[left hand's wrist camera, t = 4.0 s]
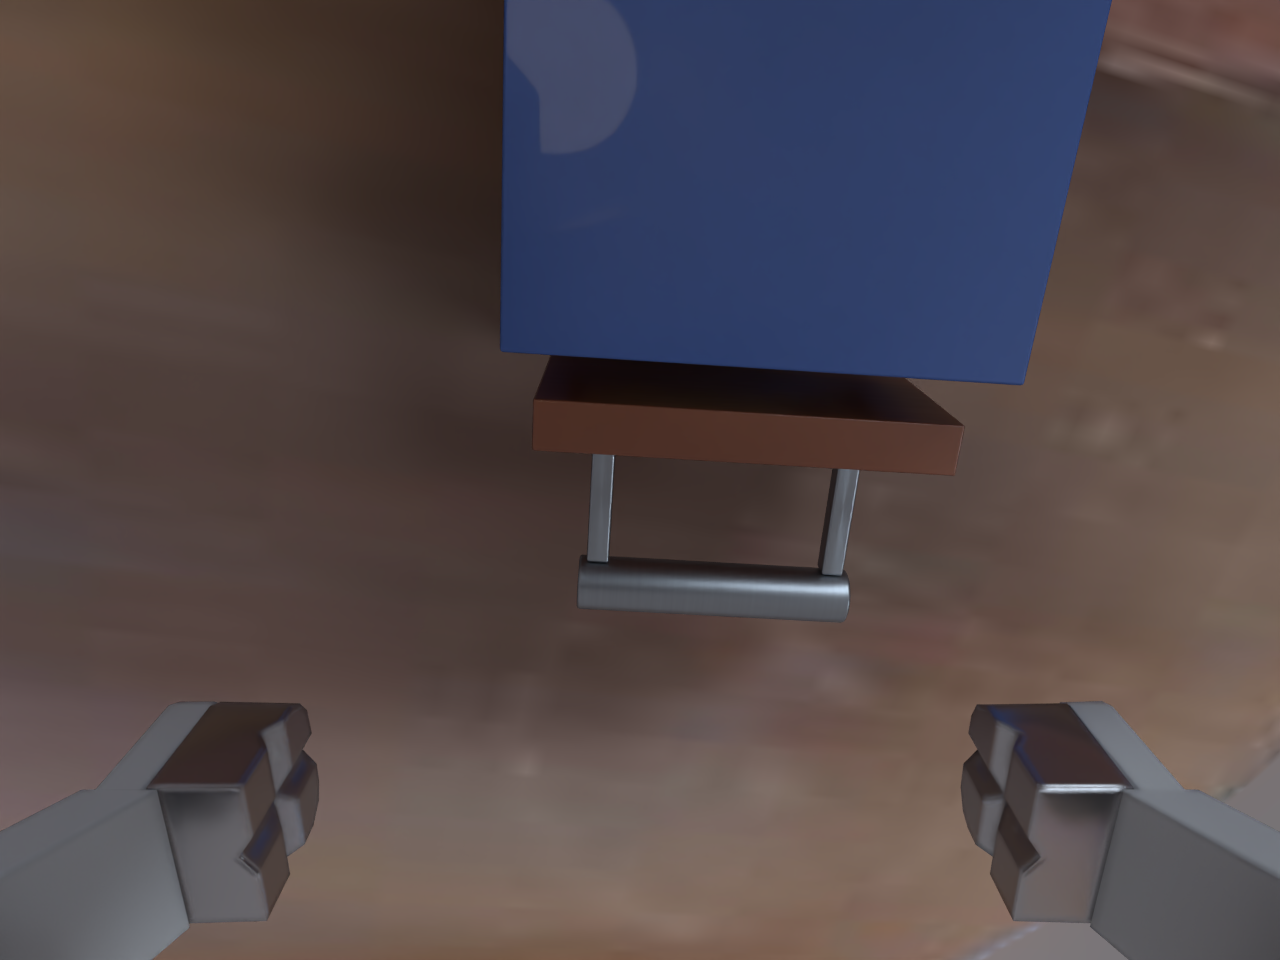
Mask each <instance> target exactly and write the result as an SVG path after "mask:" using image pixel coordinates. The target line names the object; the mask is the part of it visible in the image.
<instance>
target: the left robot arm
mask: <svg viewBox="0 0 1280 960" xmlns="http://www.w3.org/2000/svg"><path fill="white" fill-rule="evenodd" d="M310 735H311V728H310V723H309V718H308V713H307V710H306V709H305V708H304V707H303V706H302V705H301V704H300V703H254V702H219V703H217V702H177V703H174V704H171V705H169V706H168V707H167V708H166V709H165V710H164V711H163V712H162V713H161V715H160V716H159V717H158V718H157V719H156V720H155V722H154V723H153V724H152V725H151V726H150V727H149V728H148V730H147V731H146V732H145V733H144V734H143V735H142V737H141V738H140V739H139V740H138V741H137V742H136V743H135V745H134V746H133V747H132V748H131V749H130V750H129V751H128V753H127V754H126V755H125V756H124V757H123V758H122V760H121V761H120V762H119V763H118V764H117V765H116V766H115V768H114V769H113V770H112V771H111V772H110V773H109V774H108V776H107V777H106V778H105V779H104V780H103V781H102V783H101V784H100V785H99V786H98V787H97V788H96V789H95V790H80V791H78V792H76V793H75V794H73V795H71V796H69V797H67V798H65V799H63V800H61V801H59V802H57V803H55V804H53V805H51V806H49V807H47V808H45V809H43V810H41V811H39V812H37V813H35V814H33V815H32V816H30V817H28V818H26V819H24V820H22V821H20V822H18V823H16V824H14V825H12V826H10V827H8V828H6V829H4V830H2V831H0V960H152V959H153V958H154V957H155V956H157V955H158V954H159V953H160V952H161V951H162V950H164V949H165V948H166V947H167V946H168V945H170V944H171V943H172V942H173V941H174V940H175V939H177V938H178V937H179V936H180V935H181V934H182V933H184V932H185V931H186V930H187V929H188V928H189V927H190V925H189V923H211V922H245V921H267V919H268V917H269V915H270V913H271V911H272V909H273V907H274V905H275V903H276V901H277V899H278V897H279V895H280V893H281V891H282V889H283V887H284V885H285V883H286V881H287V879H288V877H289V875H290V871H289V865H288V859H287V856H289V855H290V854H292V853H293V852H294V851H296V850H297V849H299V848H300V847H301V846H303V845H304V844H305V842H306V840H307V838H308V836H309V833H310V831H311V829H312V827H313V824H314V820H315V815H316V811H317V806H318V801H319V778H318V771H317V764H316V763H315V762H314V761H313V760H312V759H311V758H310V757H309V756H308V755H307V754H306V753H305V752H304V751H303V750H302V749H303V748H304V746H305V744H306V742H307V740H308V739H309V737H310ZM969 735H970V737H971V739H972V740H973V742H974V744H975V746H976V748H977V749H978V750H977V751H976V752H975V753H974V754H973V755H972V756H971V757H970V758H969V759H968V760H967V761H966V762H965V763H964V764H963V772H962V780H961V796H962V807H963V813H964V816H965V820H966V823H967V827H968V829H969V831H970V834H971V836H972V838H973V840H974V842H975V844H976V845H977V846H979V847H980V848H981V849H983V850H984V851H986V852H987V853H988V854H990V855H991V856H993V859H992V865H991V871H990V875H991V877H992V879H993V881H994V883H995V885H996V887H997V889H998V891H999V893H1000V895H1001V897H1002V899H1003V901H1004V903H1005V905H1006V907H1007V909H1008V911H1009V913H1010V915H1011V917H1012V919H1013V921H1033V922H1068V923H1091V925H1090V927H1091V928H1092V929H1093V930H1094V931H1096V932H1097V933H1098V934H1099V935H1100V936H1102V937H1103V938H1104V939H1105V940H1106V941H1107V942H1109V943H1110V944H1111V945H1112V946H1113V947H1114V948H1116V949H1117V950H1118V951H1119V952H1120V953H1121V954H1123V955H1124V956H1125V957H1126V958H1127V959H1128V960H1280V832H1279V831H1278V830H1276V829H1274V828H1272V827H1270V826H1268V825H1266V824H1264V823H1262V822H1260V821H1258V820H1256V819H1254V818H1252V817H1250V816H1248V815H1246V814H1244V813H1242V812H1241V811H1239V810H1237V809H1235V808H1233V807H1231V806H1229V805H1227V804H1225V803H1223V802H1221V801H1219V800H1217V799H1215V798H1213V797H1211V796H1209V795H1207V794H1206V793H1204V792H1202V791H1200V790H1185V789H1184V788H1183V787H1182V786H1181V785H1180V784H1179V783H1178V781H1177V780H1176V779H1175V778H1174V777H1173V776H1172V775H1171V773H1170V772H1169V771H1168V770H1167V769H1166V768H1165V766H1164V765H1163V764H1162V763H1161V762H1160V761H1159V760H1158V758H1157V757H1156V756H1155V755H1154V754H1153V753H1152V752H1151V750H1150V749H1149V748H1148V747H1147V746H1146V745H1145V743H1144V742H1143V741H1142V740H1141V739H1140V738H1139V737H1138V735H1137V734H1136V733H1135V732H1134V731H1133V730H1132V729H1131V727H1130V726H1129V725H1128V724H1127V723H1126V722H1125V720H1124V719H1123V718H1122V717H1121V716H1120V715H1119V714H1118V712H1117V711H1116V710H1115V709H1114V708H1113V707H1112V706H1111V705H1109V704H1107V703H1105V702H1103V701H1089V702H1060V703H1053V704H978V705H976V707H975V709H974V711H973V714H972V716H971V721H970V727H969Z"/></svg>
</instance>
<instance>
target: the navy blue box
mask: <svg viewBox="0 0 1280 960" xmlns="http://www.w3.org/2000/svg"><path fill="white" fill-rule="evenodd" d="M1111 1H1112V0H504V49H503V134H502V219H501V304H500V350H501V351H502V352H512V353H528V354H543V355H559V356H574V357H590V358H605V359H621V360H636V361H652V362H667V363H683V364H698V365H714V366H729V367H745V368H760V369H776V370H791V371H807V372H823V373H838V374H854V375H869V376H885V377H900V378H916V379H931V380H947V381H962V382H978V383H993V384H1009V385H1023V383H1024V380H1025V376H1026V371H1027V367H1028V363H1029V358H1030V354H1031V350H1032V345H1033V341H1034V337H1035V332H1036V328H1037V324H1038V319H1039V315H1040V310H1041V306H1042V302H1043V297H1044V293H1045V289H1046V284H1047V280H1048V276H1049V271H1050V267H1051V263H1052V258H1053V254H1054V250H1055V245H1056V241H1057V236H1058V232H1059V228H1060V223H1061V219H1062V215H1063V210H1064V206H1065V202H1066V197H1067V193H1068V189H1069V184H1070V180H1071V176H1072V171H1073V167H1074V162H1075V158H1076V154H1077V149H1078V145H1079V141H1080V136H1081V132H1082V128H1083V123H1084V119H1085V115H1086V110H1087V106H1088V102H1089V97H1090V93H1091V88H1092V84H1093V80H1094V75H1095V71H1096V67H1097V62H1098V58H1099V54H1100V49H1101V45H1102V41H1103V36H1104V32H1105V28H1106V23H1107V19H1108V14H1109V10H1110V6H1111Z"/></svg>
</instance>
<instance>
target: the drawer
mask: <svg viewBox="0 0 1280 960" xmlns="http://www.w3.org/2000/svg"><path fill="white" fill-rule="evenodd" d="M964 428H965V426H964V425H963V424H962V423H960V422H959V421H958V420H957V419H955V418H954V417H953V416H952V415H950V414H949V413H948V412H947V411H945V410H944V409H943V408H942V407H940V406H939V405H938V404H937V403H935V402H934V401H933V400H932V399H930V398H929V397H928V396H927V395H925V394H924V393H923V392H922V391H920V390H919V389H918V388H917V387H915V386H914V385H913V384H912V383H910V382H909V381H908V380H907V379H905V378H900V377H885V376H869V375H854V374H838V373H823V372H807V371H791V370H776V369H760V368H745V367H729V366H714V365H698V364H683V363H667V362H652V361H636V360H621V359H605V358H590V357H574V356H559V355H551V356H550V358H549V361H548V363H547V366H546V369H545V371H544V374H543V376H542V379H541V382H540V384H539V387H538V389H537V392H536V395H535V397H534V400H533V428H532V449H533V450H535V451H551V452H568V453H585V454H592V467H591V486H590V505H589V525H588V544H587V555H581V556H580V560H579V571H578V587H577V607H578V608H579V609H596V610H615V611H633V612H652V613H671V614H689V615H708V616H726V617H745V618H764V619H782V620H801V621H820V622H838V623H841V622H843V621H845V619H846V617H847V614H848V611H849V606H850V583H849V578H848V575H847V573H846V571H845V570H843V568H844V562H845V556H846V550H847V544H848V538H849V532H850V526H851V520H852V515H853V509H854V503H855V497H856V491H857V485H858V479H859V473H860V470H866V471H883V472H900V473H916V474H933V475H949V476H954V475H955V472H956V467H957V462H958V457H959V452H960V448H961V443H962V438H963V433H964ZM615 455H618V456H634V457H651V458H667V459H684V460H701V461H717V462H734V463H750V464H767V465H783V466H800V467H817V468H833V469H832V475H831V482H830V488H829V494H828V501H827V507H826V514H825V520H824V526H823V533H822V539H821V546H820V552H819V559H818V567H819V568H811V567H793V566H775V565H757V564H739V563H721V562H704V561H686V560H668V559H650V558H632V557H614V556H609V550H610V534H611V518H612V502H613V485H614V469H615Z"/></svg>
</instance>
